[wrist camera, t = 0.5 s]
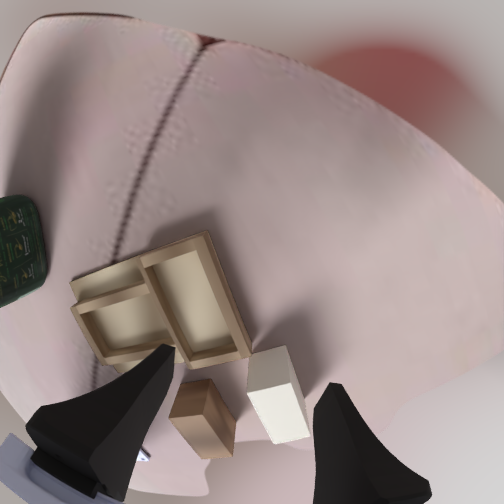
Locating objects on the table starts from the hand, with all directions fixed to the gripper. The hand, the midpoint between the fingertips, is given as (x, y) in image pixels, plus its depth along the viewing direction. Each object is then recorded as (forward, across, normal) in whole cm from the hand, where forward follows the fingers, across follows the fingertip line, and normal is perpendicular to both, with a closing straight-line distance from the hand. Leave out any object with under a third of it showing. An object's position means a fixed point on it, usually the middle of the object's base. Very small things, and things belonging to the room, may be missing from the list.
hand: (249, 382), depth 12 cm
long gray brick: (+10, -4, +9) cm, 13 cm away
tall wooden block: (+9, +2, +14) cm, 16 cm away
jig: (+9, +8, +5) cm, 13 cm away
